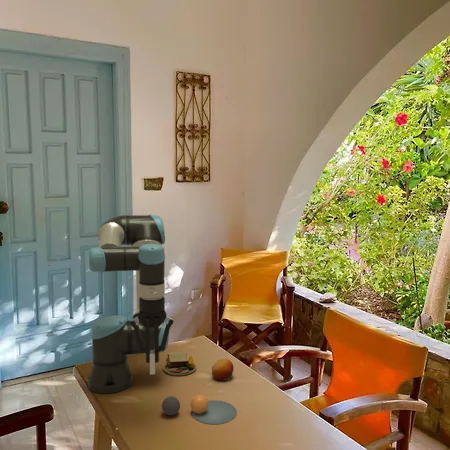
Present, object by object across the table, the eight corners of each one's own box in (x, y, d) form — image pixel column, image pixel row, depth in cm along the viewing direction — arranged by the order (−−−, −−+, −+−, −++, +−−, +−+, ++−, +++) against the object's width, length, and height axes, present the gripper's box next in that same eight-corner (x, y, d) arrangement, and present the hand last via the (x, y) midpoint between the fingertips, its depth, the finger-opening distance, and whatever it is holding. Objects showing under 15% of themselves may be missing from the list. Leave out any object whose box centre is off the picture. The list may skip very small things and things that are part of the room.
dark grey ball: (176, 391, 144) (186, 405, 144) (166, 394, 147) (176, 408, 148) (165, 403, 140) (175, 418, 140) (155, 405, 143) (165, 420, 143)
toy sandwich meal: (162, 377, 169) (162, 365, 169) (163, 362, 183) (163, 350, 182) (196, 376, 170) (196, 364, 170) (195, 361, 184) (195, 350, 183)
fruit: (236, 380, 164) (225, 360, 164) (217, 389, 166) (206, 369, 166) (240, 370, 172) (229, 352, 172) (222, 379, 174) (211, 360, 174)
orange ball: (186, 397, 144) (202, 390, 144) (189, 401, 148) (205, 394, 149) (192, 414, 141) (209, 407, 141) (195, 418, 145) (211, 410, 146)
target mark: (182, 415, 143) (182, 414, 143) (208, 396, 155) (208, 396, 155) (220, 429, 136) (220, 428, 136) (244, 408, 148) (244, 408, 148)
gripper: (128, 300, 134) (129, 379, 137) (174, 299, 135) (174, 377, 138) (130, 293, 141) (131, 368, 144) (173, 292, 143) (173, 366, 146)
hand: (152, 372), depth 141 cm, fingers closed
